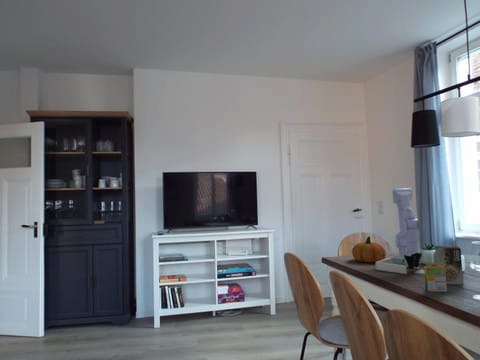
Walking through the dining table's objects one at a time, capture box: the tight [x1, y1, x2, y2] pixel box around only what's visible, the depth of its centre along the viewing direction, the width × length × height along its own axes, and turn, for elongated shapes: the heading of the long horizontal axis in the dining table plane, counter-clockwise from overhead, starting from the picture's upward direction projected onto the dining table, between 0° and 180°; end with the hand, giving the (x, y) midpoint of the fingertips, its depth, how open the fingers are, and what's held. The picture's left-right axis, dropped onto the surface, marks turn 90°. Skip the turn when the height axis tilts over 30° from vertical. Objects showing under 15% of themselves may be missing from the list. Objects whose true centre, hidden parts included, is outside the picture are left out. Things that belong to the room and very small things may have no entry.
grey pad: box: [413, 269, 425, 276], centre depth 169 cm, size 9×9×1 cm
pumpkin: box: [351, 236, 387, 264], centre depth 205 cm, size 19×19×15 cm
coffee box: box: [434, 245, 464, 286], centre depth 150 cm, size 9×6×16 cm
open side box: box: [375, 257, 420, 274], centre depth 181 cm, size 18×16×4 cm
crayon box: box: [423, 262, 448, 293], centre depth 138 cm, size 7×3×12 cm, turn 78°
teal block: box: [391, 256, 405, 265], centre depth 180 cm, size 4×5×6 cm
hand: (413, 268), depth 174 cm, fingers open, 7 cm apart
